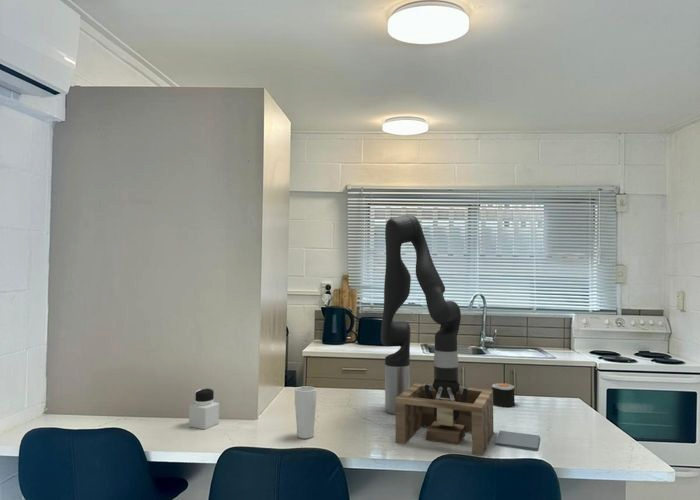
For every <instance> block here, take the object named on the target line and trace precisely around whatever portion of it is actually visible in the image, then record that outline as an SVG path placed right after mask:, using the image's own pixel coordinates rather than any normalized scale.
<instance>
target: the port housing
mask: <svg viewBox="0 0 700 500" xmlns="http://www.w3.org/2000/svg"><path fill="white" fill-rule="evenodd" d="M426 384H427V383H424V382H423V383H421V382H414V384H412V385H410V387H409V388H408V389H407V390H405V391H404V392H403V393H401V394H400V395H399V396H397V397H396V398H395V414H394V415H395V427H394V428H395V443H397V444H401V445H405V444H407V442H409V441H410V439H411V438H412V437H413V436H414V435H415V434H416V433H417V432H418V431H419V430H420V429H421V428H422V427H428V428H427V429H426V430H425V431H426V433H425V435H426V436H425V437H426V438H425V440H426V441H431V442H436V443H442V444H443V443H444V444H452V445H456V446H459V445H460V443H461V442H462V440H463V438H464V437H465V435H466V433H467V432H468V433H471V455H476V456H482V457H483V456H484V454H485V451H486V449H487V447H488V445H489V443H490V441H491V438H492V436H493V434H494V405H493V390H492V389H484V388H475V387H474V388H473V387H468V393H467V397H466V402H465V403H461V402H460V401H461V397H462V394H461V393H460V390H458V391H457V392H456V396H457V400H458V402H452V401H443V400H435V398H436V395H437V392H436V390H435V389H434V387H432V390H431V392H432V396H433V399H434V400H433V399H427V396H426V391H425V387H424V386H425V385H426ZM441 398H447V399H450V398H448V397H441ZM434 407H435V408H443V409H452V410H459V417H458V419H457V420H456V422H455V424H454V425H453V426H446V425H439V424H437V418H436V416H435V415H434Z"/></svg>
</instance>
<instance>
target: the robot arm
mask: <svg viewBox="0 0 700 500" xmlns="http://www.w3.org/2000/svg"><path fill="white" fill-rule="evenodd" d="M384 231H385V233H384V236H385V237H384V239H385V241H384V242H385V273H384V286H383V289H384V290H383V311H382V320H381V326H380V328H381V329H380V341H381V343H382V345H383V346H385V347H399V349H398V350H397V351H395V352H393V353H391V354H389V355H387V356H385V358H384V410H385V411H384V412H386V413H388V414H391V415H395V398H396V397H397V396H399V395H400V394H401V393H403V392H404V391H405V390H407V389H408V388H409V387H411V379H410V378H411V377H410V375H411V374H410V373H411V372H410V368H411V366H410V358H411V357H410V354H411V352H410V349H411V326H410V324H409V322H407V321H404V320H403V321H401V320H400V321H396V320H394V321H393V319H394V317H395V315H396V313H397V312H398V310H399V309H401V307H402V306H403V304H405V302H406V300H407V299H408V298H409V295H410V294H411V293H410V292H411V284H412V283H411V282H412V281H411V280H412V279H411V278H412V277H411V274H410V272H409V269H408V267H407V266H406V264H405V263H404V261H403V259H402V254H401V253H402V252H401V248H402V245H403V244H407V243H411V244H412V246H413V248H414V251H415V254H416V256H415V258H416V260H415V275H416V276H415V277H416V279H417V282H418V284H419V286H420V288H421V290H422V292H423V295H424V297H425V301H426V302H425V303H426V306H427V310H428V314H429V316H430V318H431V319H432V320H433V322H435V323H436V324H438V325H440V327H439V330H438V331H437V332H436V333H435V334H434V354H433V382H432V383H425V384H426V385H425V386H424V387H425V391H426V396H427V399H433V396H432V392H431V390H432V387H434V389H435V390H436V392H437V395H436V398H435V400H440V399H441V397H448V398H450V399H451V401H452V402H458V400H457V396H456V392H457V391H458V390H460V393H461V394H462V397H461V401H460V402H461V403H465V402H466V397H467V393H468V388H469V387H467V386H462V385H460V382H459V355H458V335H459V330H460V325H461V320H462V312H461V308H460V306H459V305H458V303H457V302H455V301H453V300H446V299H445V296H444V293H445V292H446V287H445V284H444V282H443V280H442V278H441V276H440V274H439V272H438V271H437V269H436V266H435V263H434V261H433V259H432V256H431V255H432V254H431V253H430V249H429V246H428V242H427V240H426V237H425V234H424V231H423V227H422V225H421V223H420V222H419V219H418V218H417V217H416V216H415V215H414V214H405V215H401V216H395V217H392V218H389V219H388V220H387V221H386V224H385V229H384ZM433 400H434V399H433ZM434 415H435V416H436V418H437V408H435V407H434ZM458 417H459V410H454V420H457V419H458Z"/></svg>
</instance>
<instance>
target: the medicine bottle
mask: <svg viewBox="0 0 700 500" xmlns="http://www.w3.org/2000/svg"><path fill="white" fill-rule="evenodd" d="M194 402H195V403H193V404H190V405H189V406H188V427H189V428H195V429H200V430H208V429H209V428H212V427H214V426H216V425H218V424H220V403H219V402H215V401H214V390H213V389H211V388H200V389H198V390H196V391H195V392H194Z"/></svg>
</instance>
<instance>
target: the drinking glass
mask: <svg viewBox="0 0 700 500" xmlns="http://www.w3.org/2000/svg"><path fill="white" fill-rule="evenodd" d="M316 406H317V389H316V387H314V386H311V385H310V386H306V385H305V386H299V387H296V388H295V390H294V407H295V420H296V436H297V438H300V439H303V440H305V439H307V440H308V439H311V438H312V437H314V435H315V419H316Z"/></svg>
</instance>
